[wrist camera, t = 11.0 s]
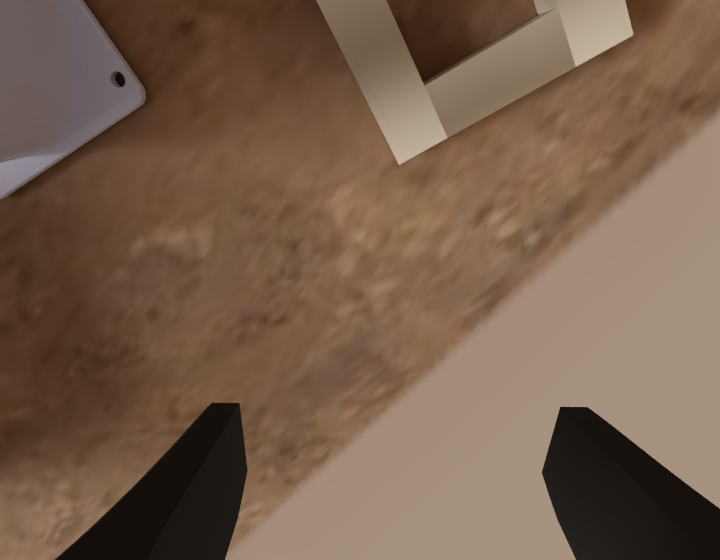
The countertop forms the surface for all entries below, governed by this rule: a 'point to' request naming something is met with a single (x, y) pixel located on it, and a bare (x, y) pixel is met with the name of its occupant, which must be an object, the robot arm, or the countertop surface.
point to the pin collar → (465, 65)
